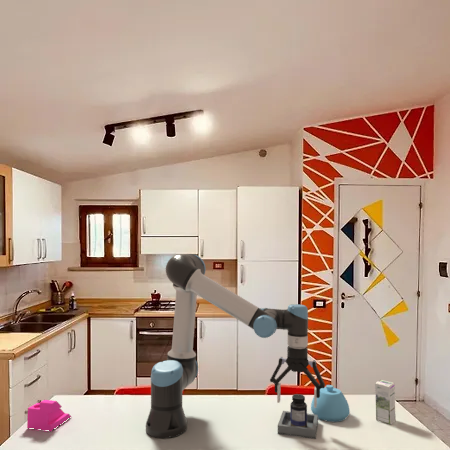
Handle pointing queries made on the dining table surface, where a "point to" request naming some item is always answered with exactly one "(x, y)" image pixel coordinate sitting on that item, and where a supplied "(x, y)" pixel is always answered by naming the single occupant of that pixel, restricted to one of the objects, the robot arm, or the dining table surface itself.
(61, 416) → the bracket
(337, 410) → the sugar bowl
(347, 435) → the dining table surface
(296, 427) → the bin
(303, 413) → the pill bottle
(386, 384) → the syrup box
